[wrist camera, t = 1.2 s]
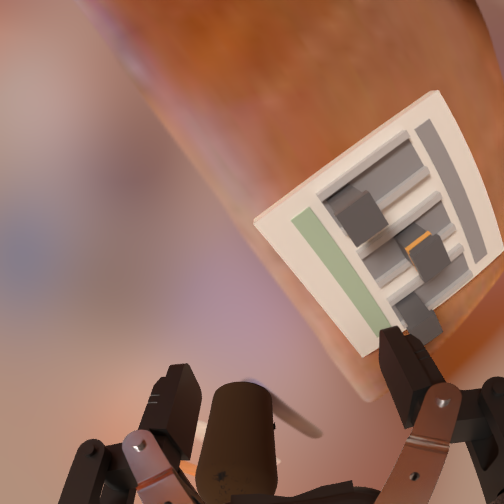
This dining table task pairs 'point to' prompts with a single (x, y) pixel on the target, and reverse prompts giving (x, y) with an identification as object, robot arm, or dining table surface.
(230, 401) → the olive oil
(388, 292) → the switch board
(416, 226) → the breaker handle
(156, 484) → the robot arm
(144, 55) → the dining table surface
